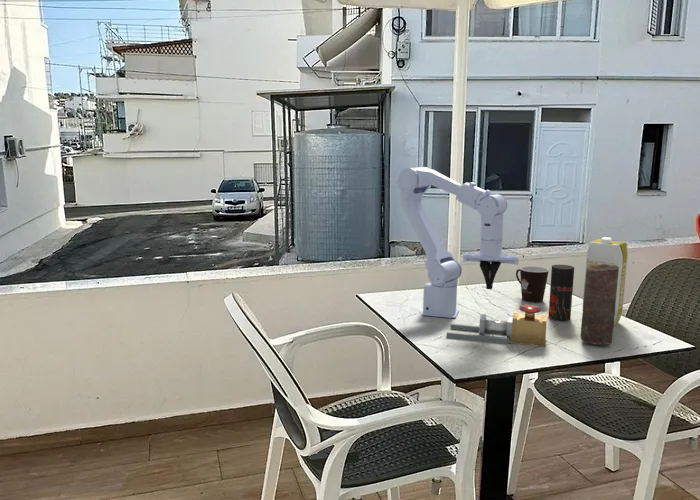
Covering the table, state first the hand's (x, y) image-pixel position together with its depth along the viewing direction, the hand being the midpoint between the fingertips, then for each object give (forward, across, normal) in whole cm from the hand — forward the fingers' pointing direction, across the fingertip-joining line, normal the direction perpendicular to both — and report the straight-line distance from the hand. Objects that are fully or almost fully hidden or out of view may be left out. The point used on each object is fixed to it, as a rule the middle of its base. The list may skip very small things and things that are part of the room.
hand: (489, 288), depth 155 cm
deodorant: (+10, +19, +11) cm, 24 cm away
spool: (+10, +3, -11) cm, 15 cm away
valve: (+10, +11, -11) cm, 18 cm away
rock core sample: (+10, +27, -7) cm, 30 cm away
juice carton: (+10, +30, +12) cm, 33 cm away
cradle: (+10, -1, -11) cm, 15 cm away
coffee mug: (+10, +10, +30) cm, 33 cm away
